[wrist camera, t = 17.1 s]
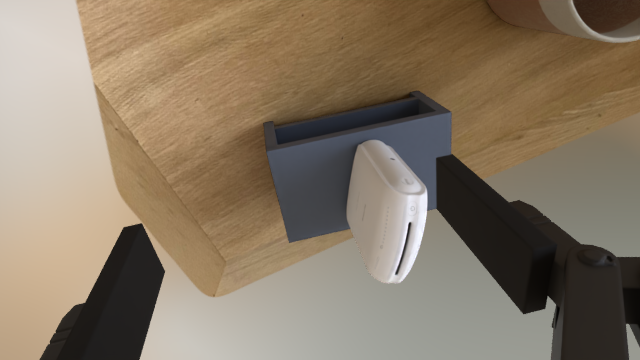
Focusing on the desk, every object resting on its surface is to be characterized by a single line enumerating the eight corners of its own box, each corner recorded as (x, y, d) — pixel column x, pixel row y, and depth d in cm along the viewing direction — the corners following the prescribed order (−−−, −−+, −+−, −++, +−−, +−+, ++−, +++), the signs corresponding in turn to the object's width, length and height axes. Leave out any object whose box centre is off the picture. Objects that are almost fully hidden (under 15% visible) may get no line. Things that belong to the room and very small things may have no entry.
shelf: (283, 203, 52) (289, 243, 44) (263, 122, 46) (266, 151, 38) (420, 172, 54) (450, 205, 46) (418, 90, 48) (451, 111, 40)
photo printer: (354, 136, 39) (393, 195, 29) (393, 138, 40) (445, 196, 29) (341, 219, 44) (370, 297, 33) (376, 219, 45) (416, 295, 34)
